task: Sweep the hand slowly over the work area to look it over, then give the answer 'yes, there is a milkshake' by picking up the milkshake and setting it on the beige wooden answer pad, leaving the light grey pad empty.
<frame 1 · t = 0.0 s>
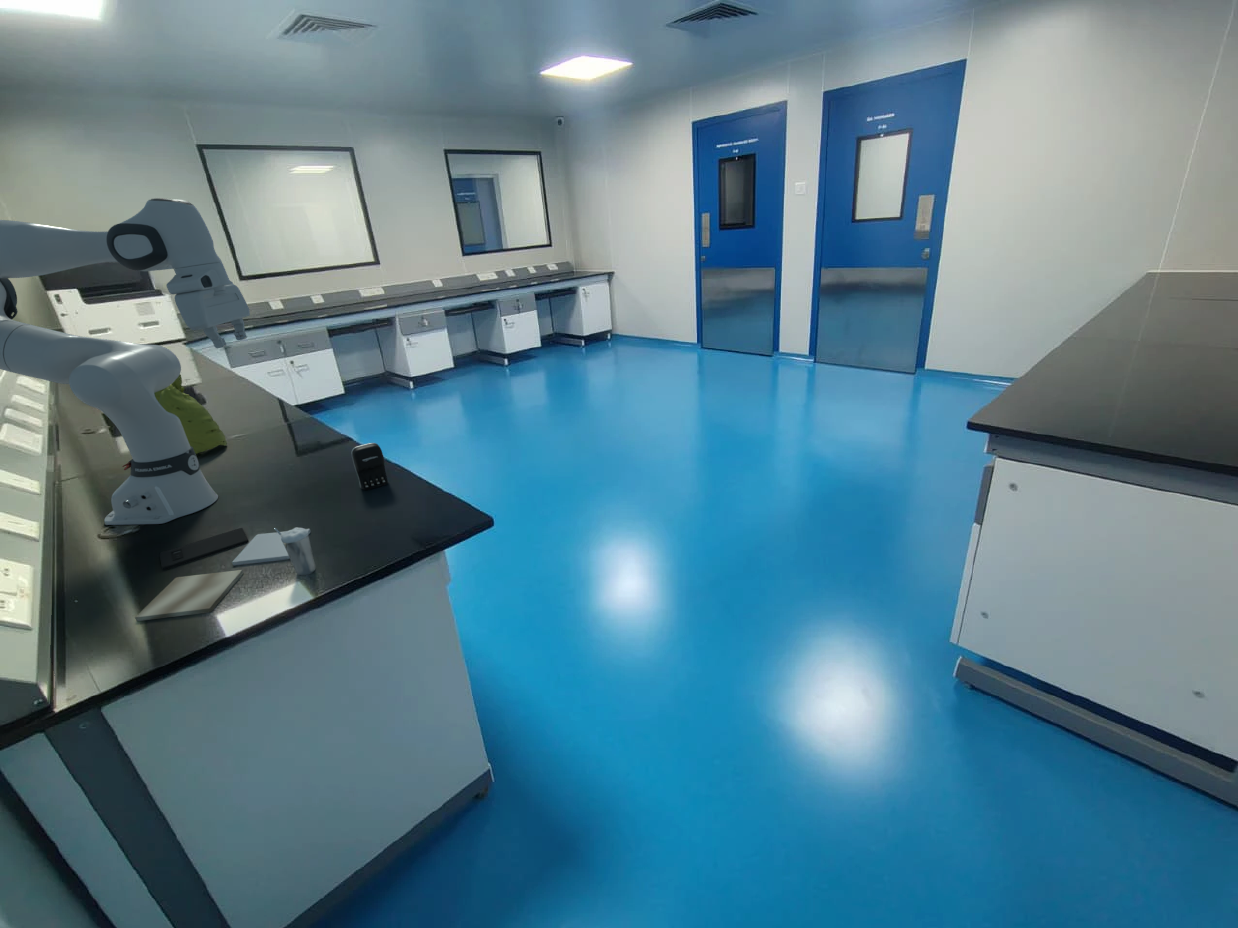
hand: (232, 343, 123), 39 cm above the table, tool pointing down, fingers open, 8 cm apart
battery charger: (375, 487, 142), on the table
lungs: (194, 449, 175), on the table
phone: (206, 551, 117), on the table
milkshake: (304, 572, 107), on the table
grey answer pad: (273, 547, 115), on the table
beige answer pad: (193, 595, 101), on the table
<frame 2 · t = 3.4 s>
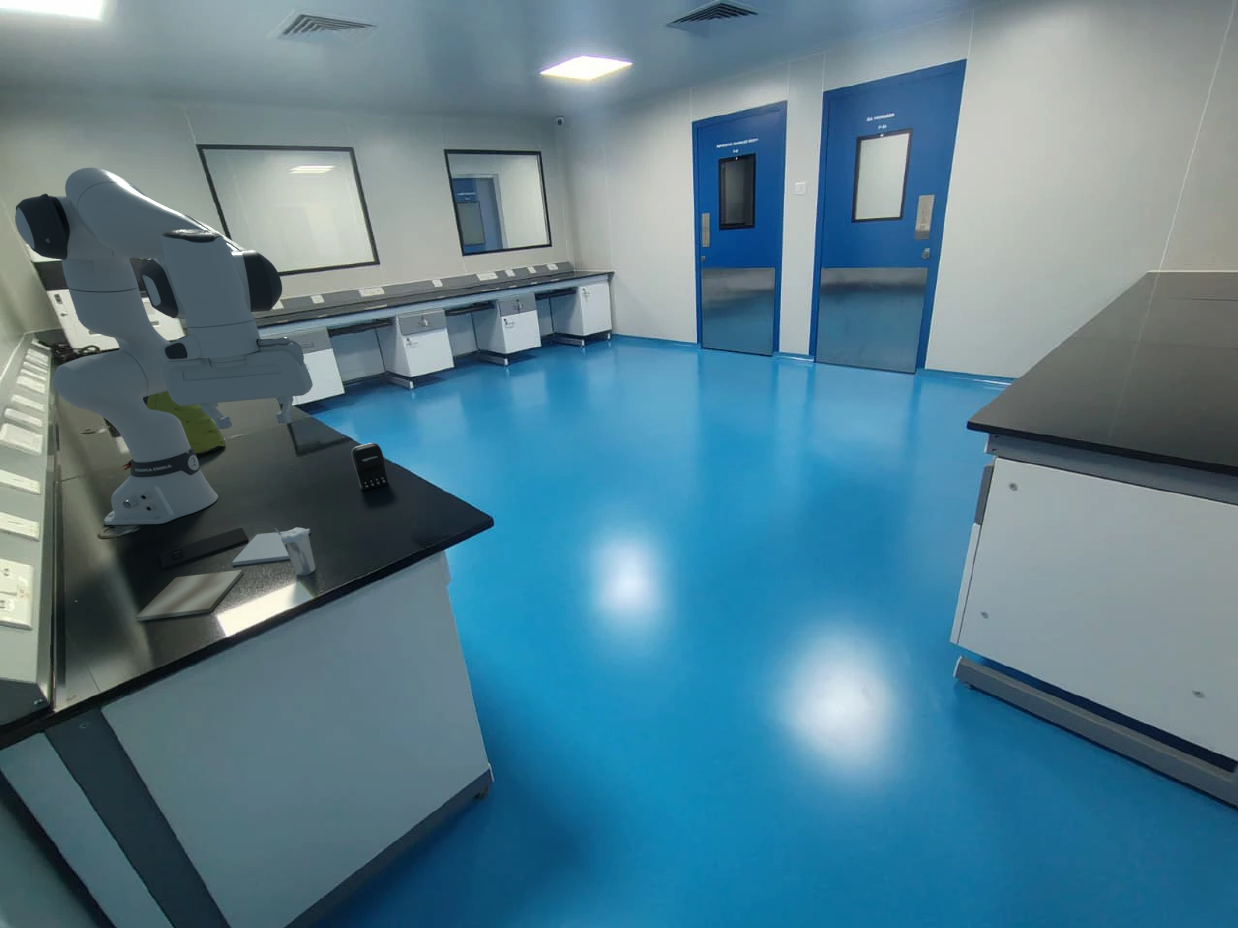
hand: (255, 425, 91), 31 cm above the table, tool pointing down, fingers open, 8 cm apart
nothing on the table moved.
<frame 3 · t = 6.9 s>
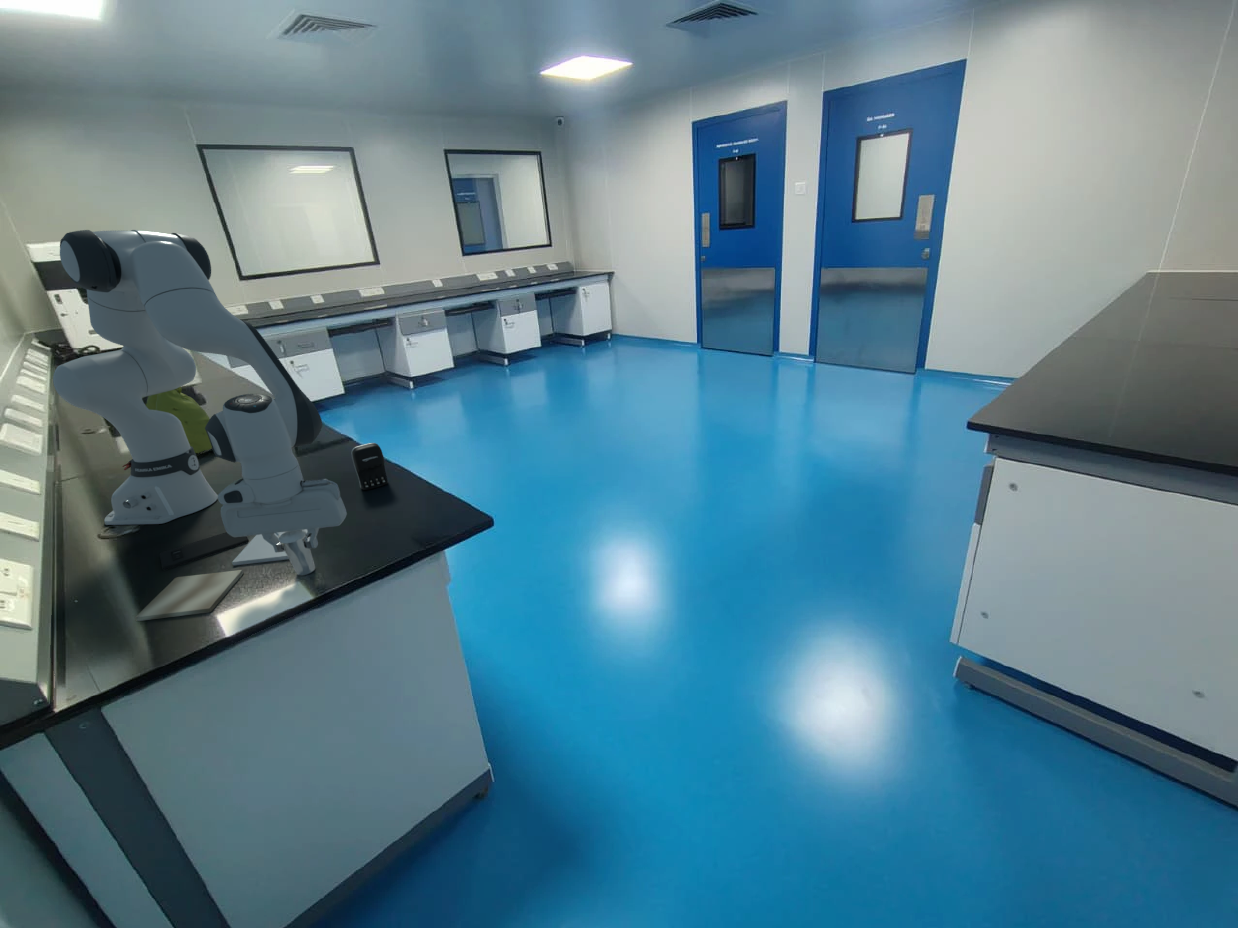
hand: (297, 548, 104), 5 cm above the table, tool pointing down, fingers closed on milkshake, 4 cm apart
milkshake: (304, 571, 107), on the table, touching gripper
everything else where it was.
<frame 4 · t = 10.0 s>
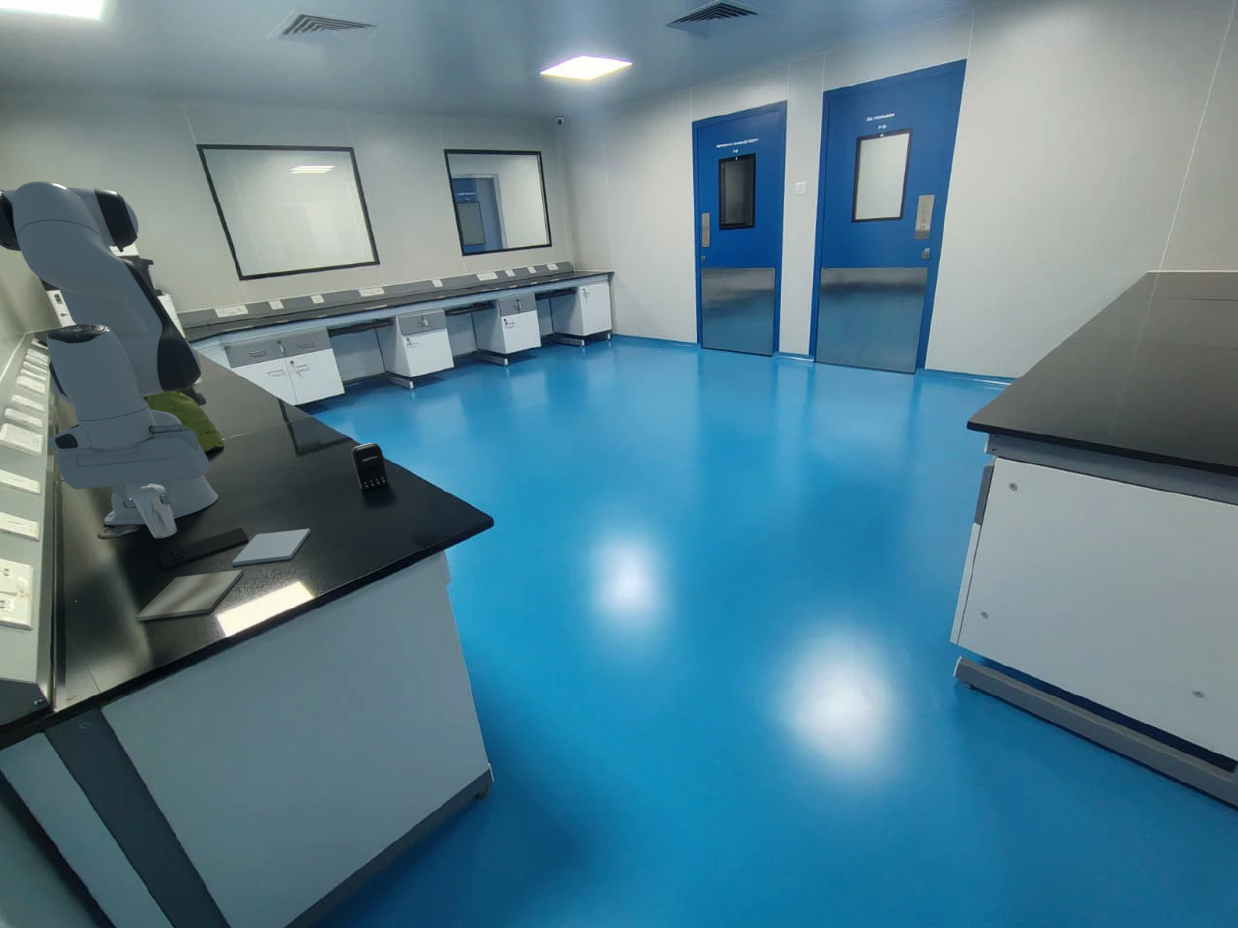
hand: (154, 504, 93), 19 cm above the table, tool pointing down, fingers closed on milkshake, 4 cm apart
milkshake: (163, 535, 96), point 13 cm above the table, touching gripper
everything else where it was.
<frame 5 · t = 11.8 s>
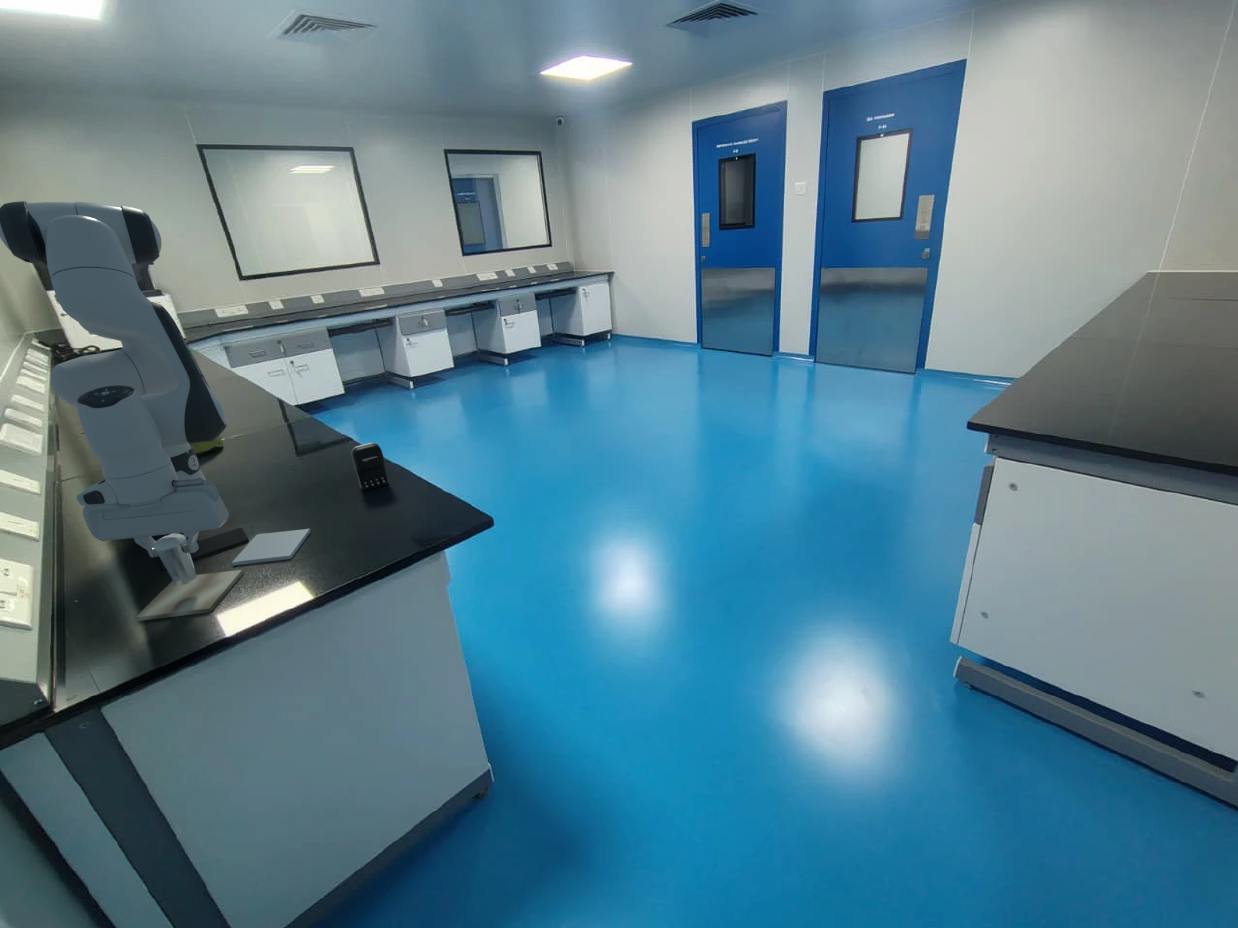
hand: (175, 553, 97), 9 cm above the table, tool pointing down, fingers closed on milkshake, 4 cm apart
milkshake: (184, 581, 99), point 3 cm above the table, touching gripper
everything else where it was.
when the fingers open (6 cm above the table, at t = 13.1 s): milkshake stays where it is, resting on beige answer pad.
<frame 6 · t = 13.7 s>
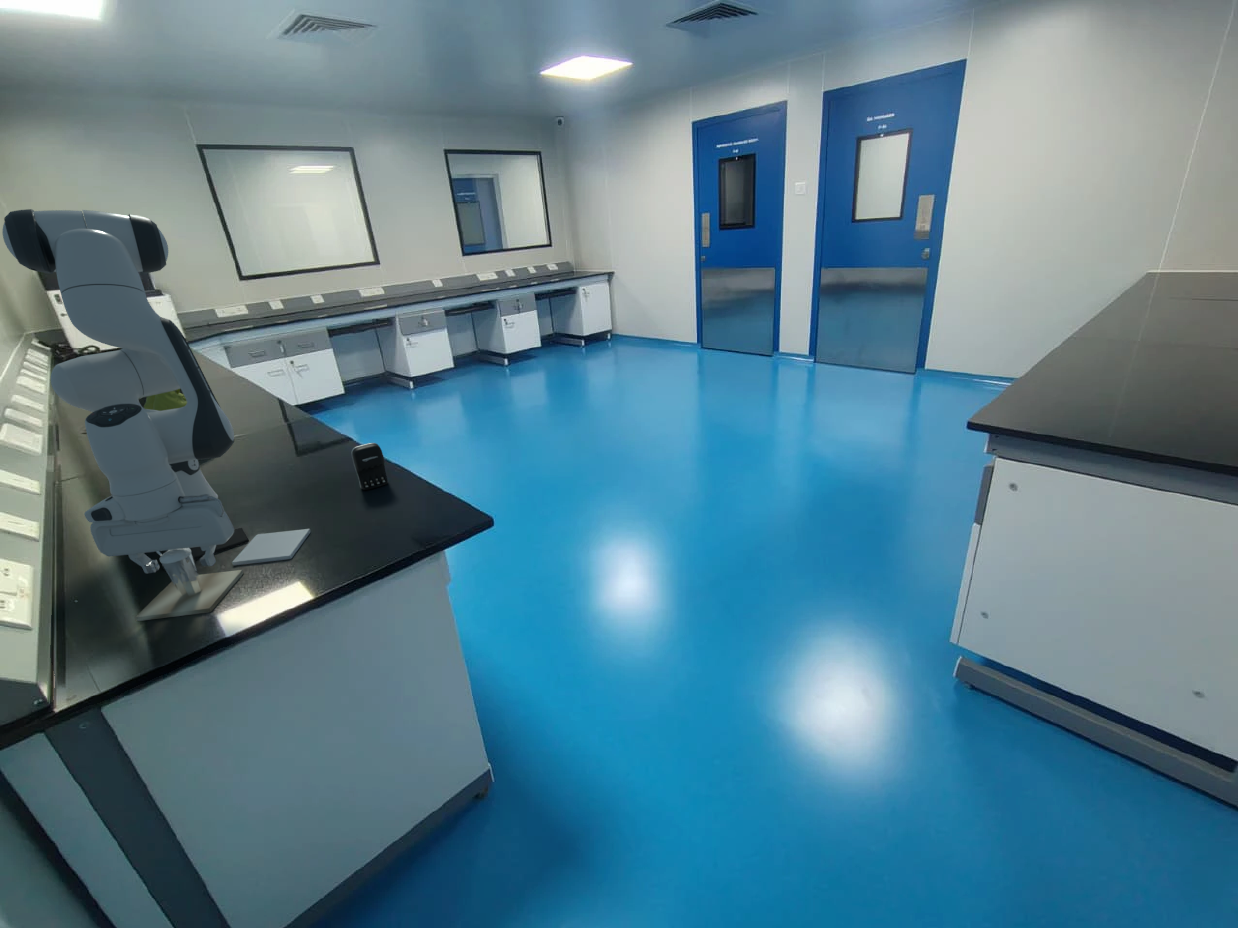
hand: (181, 567, 98), 6 cm above the table, tool pointing down, fingers open, 8 cm apart
milkshake: (189, 593, 100), point 1 cm above the table, touching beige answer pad
everything else where it was.
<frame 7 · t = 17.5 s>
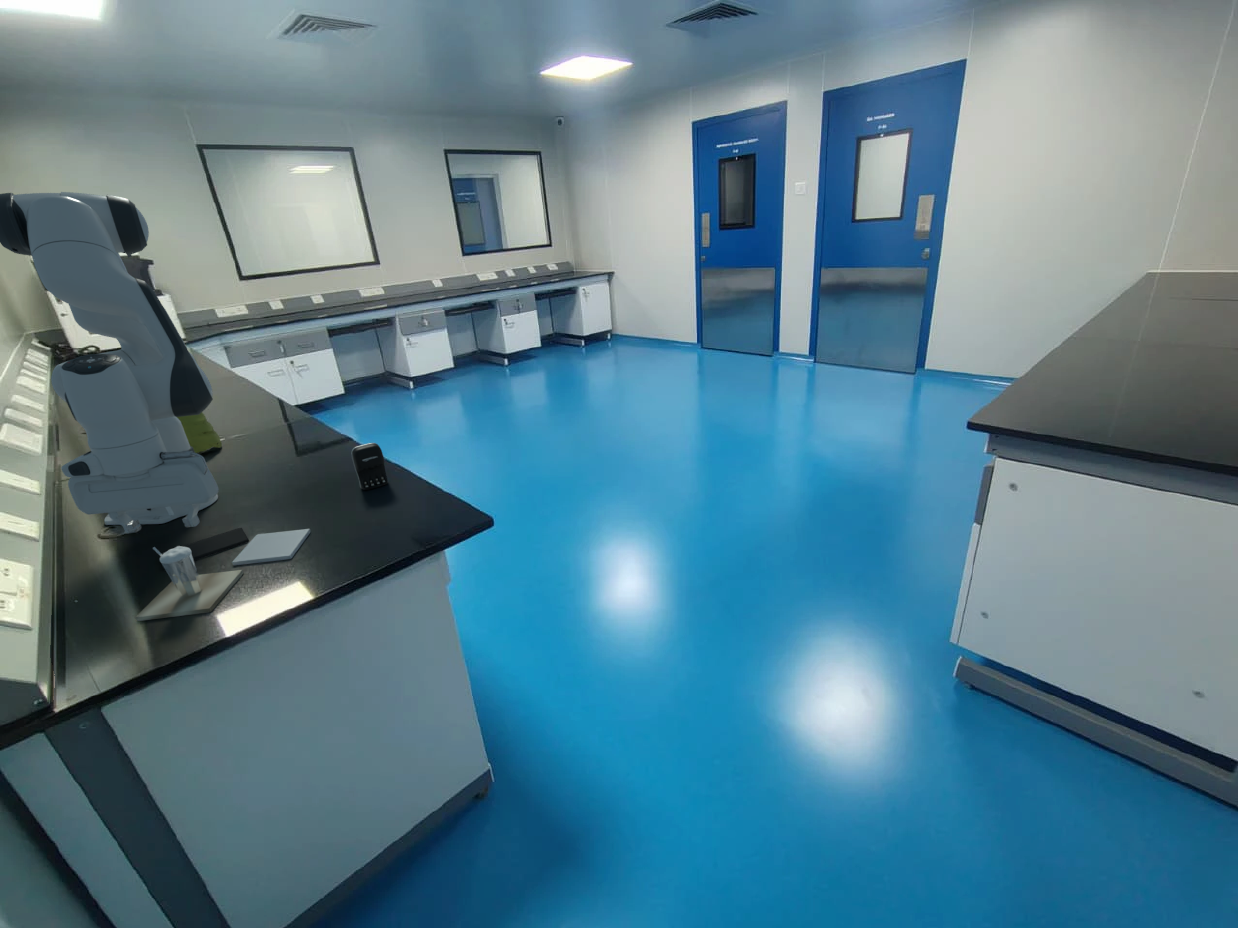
hand: (163, 528, 95), 14 cm above the table, tool pointing down, fingers open, 8 cm apart
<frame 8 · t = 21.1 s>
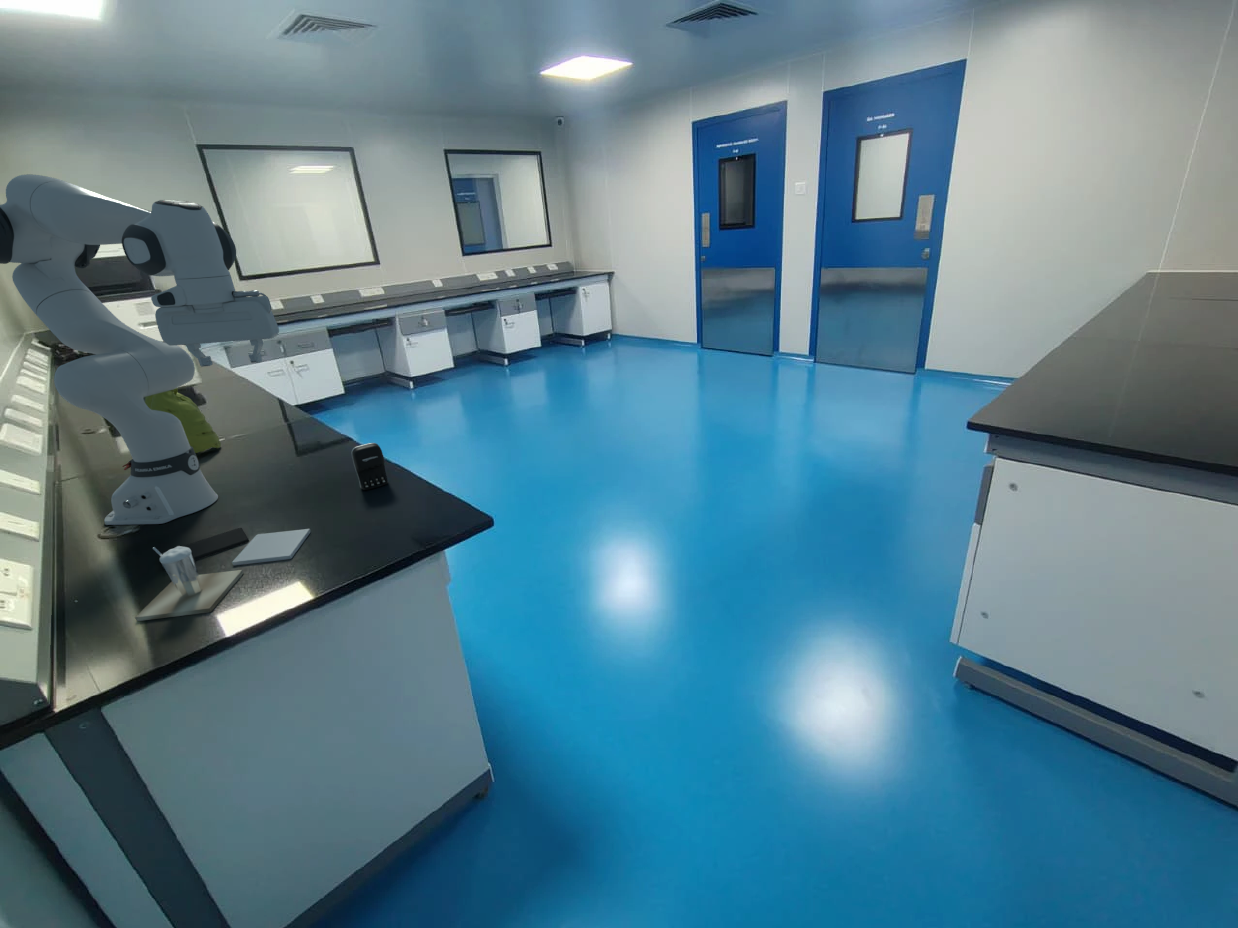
hand: (232, 364, 110), 37 cm above the table, tool pointing down, fingers open, 8 cm apart
at the end: milkshake inside the target area on the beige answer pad (0.4 cm from its centre), point 0.6 cm above the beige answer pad's base; milkshake tilted 0°; the gripper is holding nothing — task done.
